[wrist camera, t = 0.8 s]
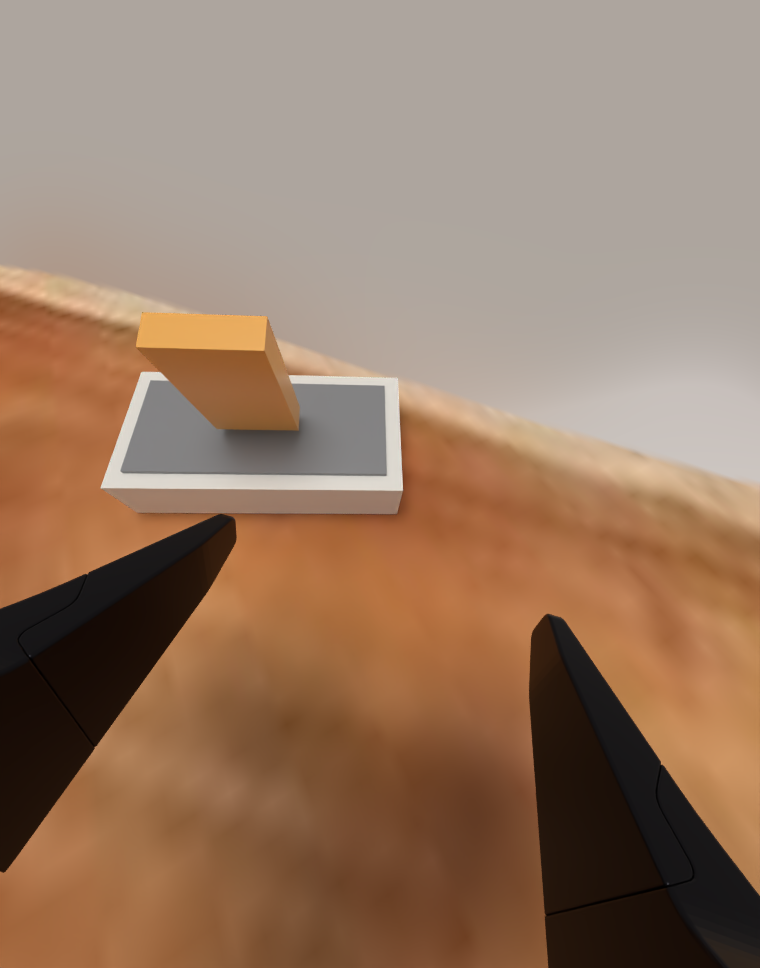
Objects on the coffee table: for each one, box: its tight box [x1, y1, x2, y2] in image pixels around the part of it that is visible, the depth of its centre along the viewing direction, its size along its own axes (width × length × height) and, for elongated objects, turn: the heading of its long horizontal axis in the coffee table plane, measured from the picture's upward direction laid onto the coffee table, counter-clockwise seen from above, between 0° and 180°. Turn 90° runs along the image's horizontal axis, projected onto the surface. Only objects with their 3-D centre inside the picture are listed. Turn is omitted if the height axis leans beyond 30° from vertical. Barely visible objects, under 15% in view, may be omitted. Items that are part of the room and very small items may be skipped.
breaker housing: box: [101, 372, 403, 514], centre depth 26 cm, size 9×18×4 cm, turn 91°
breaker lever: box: [136, 312, 300, 431], centre depth 19 cm, size 2×5×8 cm, turn 91°
